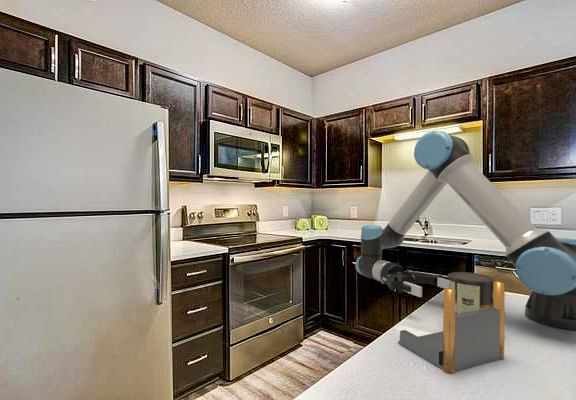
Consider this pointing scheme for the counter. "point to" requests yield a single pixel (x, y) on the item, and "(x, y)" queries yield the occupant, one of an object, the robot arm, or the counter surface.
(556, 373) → the counter surface
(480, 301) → the coffee can
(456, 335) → the keeper bracket
